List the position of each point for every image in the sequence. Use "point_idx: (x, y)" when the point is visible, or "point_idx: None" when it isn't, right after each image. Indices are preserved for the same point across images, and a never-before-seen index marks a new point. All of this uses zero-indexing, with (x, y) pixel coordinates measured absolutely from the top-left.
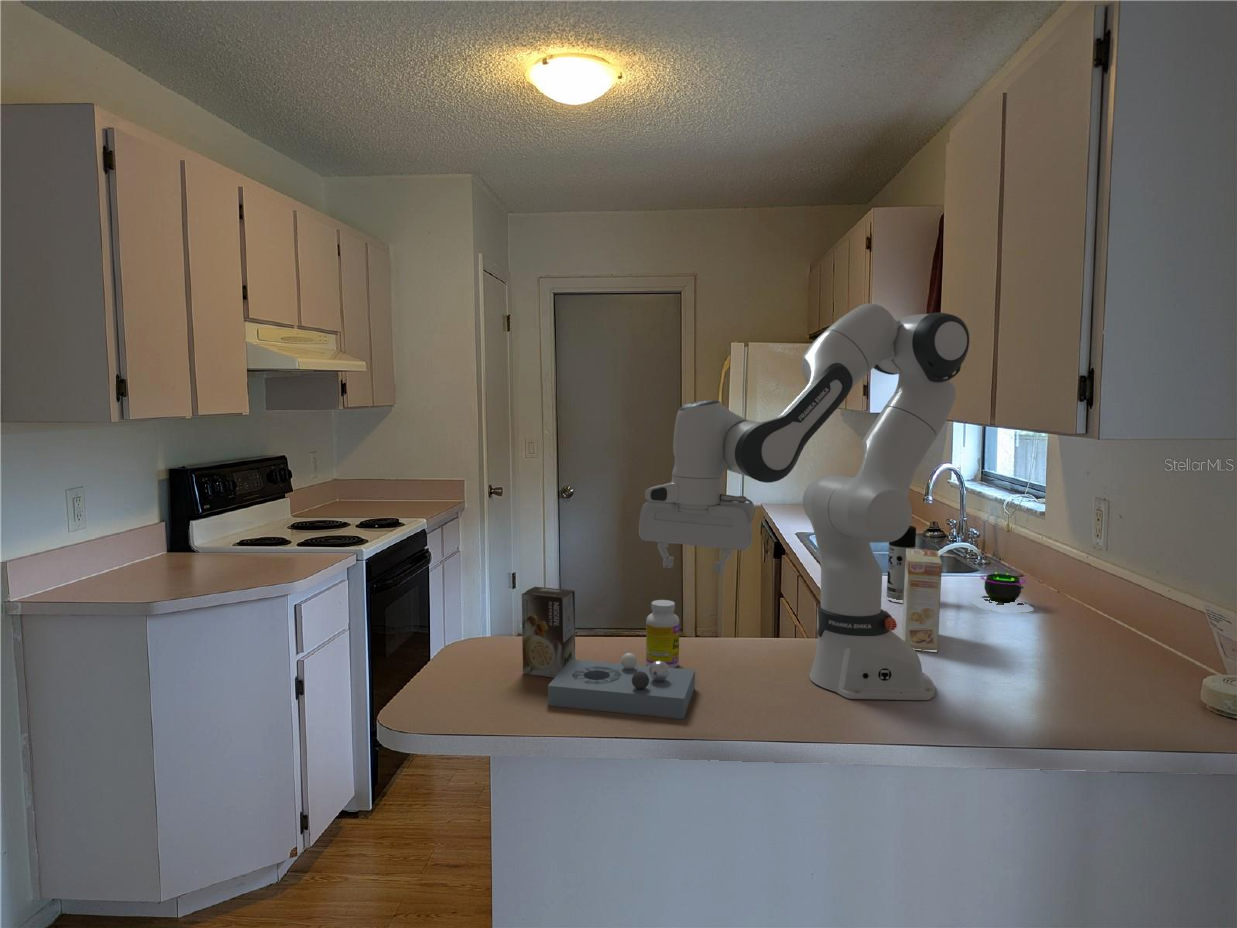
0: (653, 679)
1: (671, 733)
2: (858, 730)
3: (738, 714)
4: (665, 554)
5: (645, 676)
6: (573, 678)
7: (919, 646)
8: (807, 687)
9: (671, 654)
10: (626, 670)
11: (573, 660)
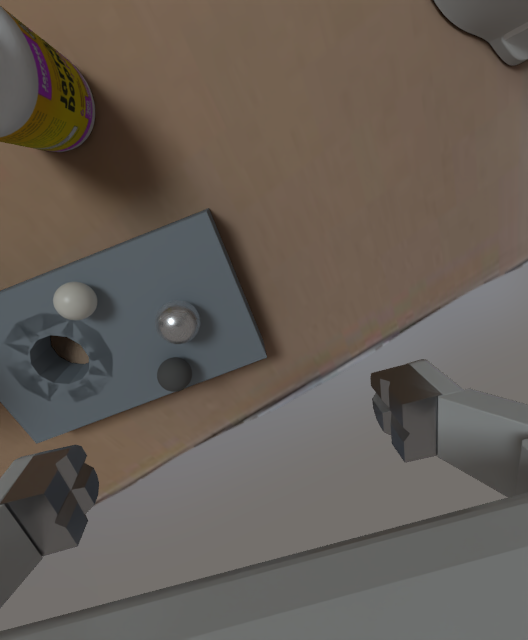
0: None
1: (271, 387)
2: (524, 216)
3: (331, 272)
4: (10, 577)
5: (186, 380)
6: (41, 397)
7: None
8: (420, 40)
9: (79, 121)
10: None
11: None
